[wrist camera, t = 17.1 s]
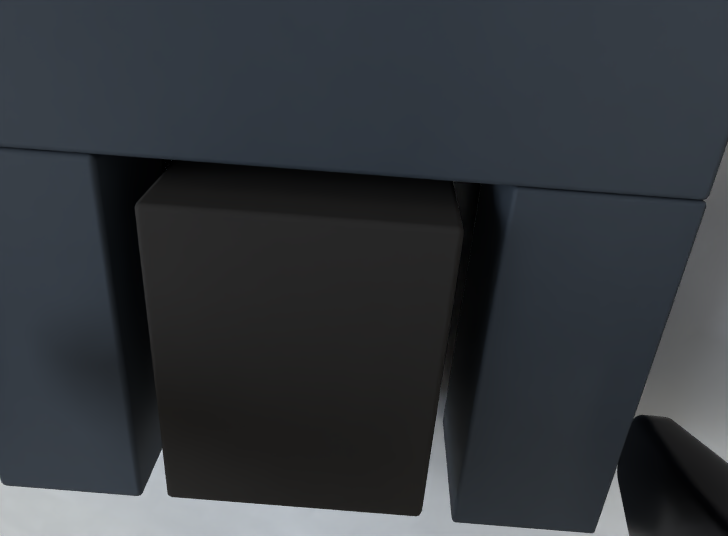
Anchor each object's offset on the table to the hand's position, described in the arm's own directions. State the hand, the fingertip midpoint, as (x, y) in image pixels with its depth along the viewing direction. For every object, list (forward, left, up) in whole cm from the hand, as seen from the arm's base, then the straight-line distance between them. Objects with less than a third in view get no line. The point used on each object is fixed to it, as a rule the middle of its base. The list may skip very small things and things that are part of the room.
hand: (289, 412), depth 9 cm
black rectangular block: (0, 0, -4) cm, 4 cm away
